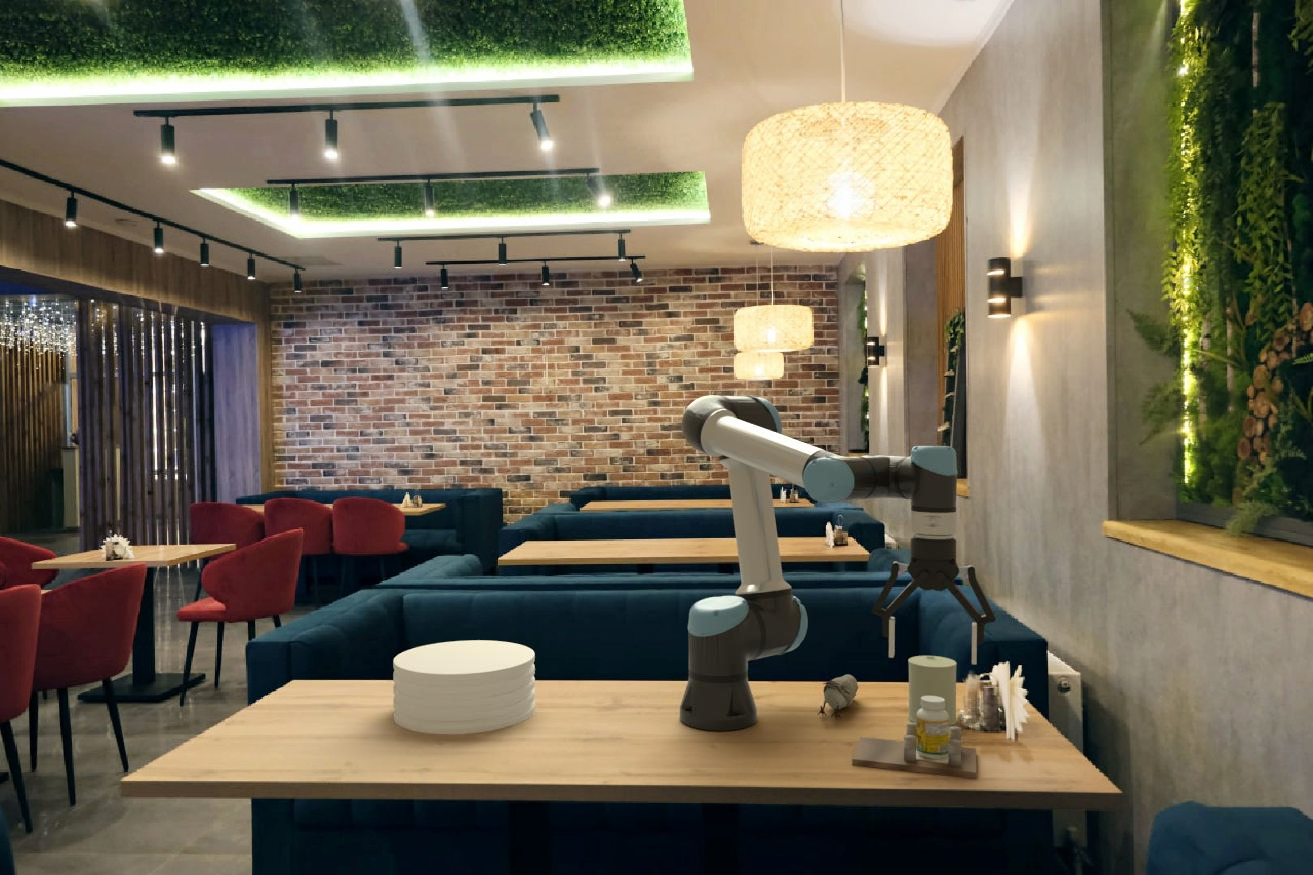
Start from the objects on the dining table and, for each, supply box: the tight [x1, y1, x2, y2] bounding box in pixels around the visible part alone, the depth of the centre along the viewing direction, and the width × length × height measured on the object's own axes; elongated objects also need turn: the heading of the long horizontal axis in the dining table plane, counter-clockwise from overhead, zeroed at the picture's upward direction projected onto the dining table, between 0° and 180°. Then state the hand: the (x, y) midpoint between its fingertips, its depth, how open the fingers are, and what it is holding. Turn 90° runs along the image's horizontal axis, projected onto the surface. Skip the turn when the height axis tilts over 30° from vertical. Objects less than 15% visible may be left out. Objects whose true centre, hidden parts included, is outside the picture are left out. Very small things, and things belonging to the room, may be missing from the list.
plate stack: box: [392, 639, 536, 735], centre depth 190 cm, size 28×28×12 cm
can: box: [907, 655, 958, 727], centre depth 184 cm, size 9×9×12 cm
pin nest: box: [851, 721, 977, 780], centre depth 162 cm, size 20×12×5 cm, turn 71°
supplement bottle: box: [917, 696, 950, 759], centre depth 161 cm, size 5×5×10 cm
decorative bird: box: [817, 674, 859, 720], centre depth 191 cm, size 5×16×8 cm, turn 151°
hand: (932, 659), depth 161 cm, fingers open, 13 cm apart
